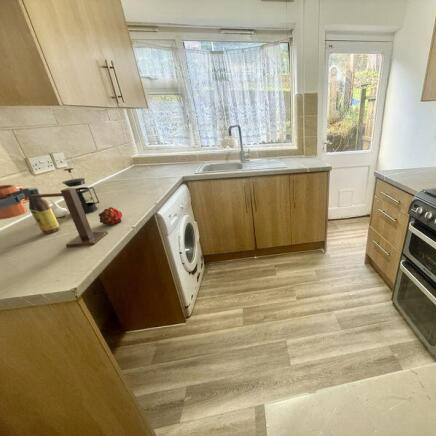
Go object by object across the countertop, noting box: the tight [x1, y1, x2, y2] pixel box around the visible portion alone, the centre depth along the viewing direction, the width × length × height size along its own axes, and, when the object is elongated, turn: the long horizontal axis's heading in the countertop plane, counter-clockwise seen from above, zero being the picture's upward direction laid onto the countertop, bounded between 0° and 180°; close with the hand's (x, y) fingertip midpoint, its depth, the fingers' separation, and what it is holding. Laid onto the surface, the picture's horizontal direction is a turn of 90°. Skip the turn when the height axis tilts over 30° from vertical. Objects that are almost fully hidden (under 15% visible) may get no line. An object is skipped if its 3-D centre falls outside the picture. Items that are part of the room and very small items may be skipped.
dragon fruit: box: [98, 206, 123, 226], centre depth 114 cm, size 8×8×12 cm
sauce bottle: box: [28, 187, 61, 234], centre depth 105 cm, size 6×6×20 cm
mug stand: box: [28, 187, 109, 249], centre depth 95 cm, size 19×10×22 cm, turn 97°
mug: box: [0, 184, 29, 220], centre depth 80 cm, size 12×8×9 cm, turn 7°
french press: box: [62, 167, 100, 215], centre depth 126 cm, size 12×9×23 cm
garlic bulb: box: [51, 200, 69, 219], centre depth 124 cm, size 6×6×8 cm
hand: (13, 193), depth 82 cm, fingers closed on mug, 8 cm apart
